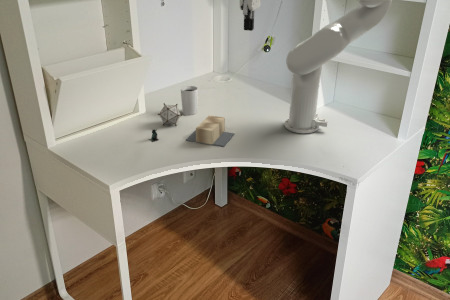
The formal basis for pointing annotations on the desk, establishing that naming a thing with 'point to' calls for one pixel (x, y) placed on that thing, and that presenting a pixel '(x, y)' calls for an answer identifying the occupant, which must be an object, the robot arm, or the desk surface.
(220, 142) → the slate mat
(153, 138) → the sculpture
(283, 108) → the desk surface
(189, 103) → the white and black cylinder
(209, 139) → the maple block
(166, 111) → the game die
